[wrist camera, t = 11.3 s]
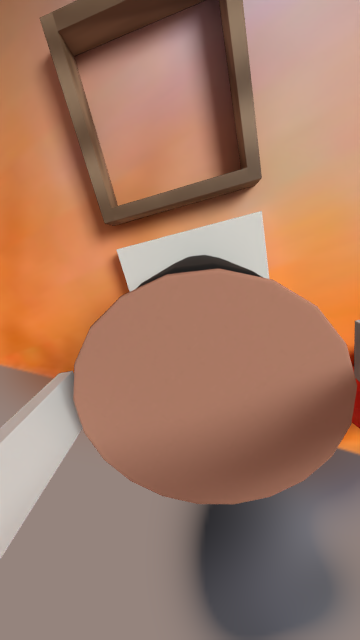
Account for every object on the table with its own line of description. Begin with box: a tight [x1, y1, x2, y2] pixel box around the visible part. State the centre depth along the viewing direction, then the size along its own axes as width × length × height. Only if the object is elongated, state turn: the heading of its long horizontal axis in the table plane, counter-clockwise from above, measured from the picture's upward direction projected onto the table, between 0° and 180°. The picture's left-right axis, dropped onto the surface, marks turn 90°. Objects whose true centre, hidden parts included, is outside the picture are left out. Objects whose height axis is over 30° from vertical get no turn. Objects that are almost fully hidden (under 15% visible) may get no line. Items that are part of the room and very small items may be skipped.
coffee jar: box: [73, 255, 357, 504], centre depth 17 cm, size 11×11×18 cm
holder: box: [40, 0, 262, 226], centre depth 20 cm, size 16×16×2 cm
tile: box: [117, 211, 269, 292], centre depth 26 cm, size 16×16×2 cm
